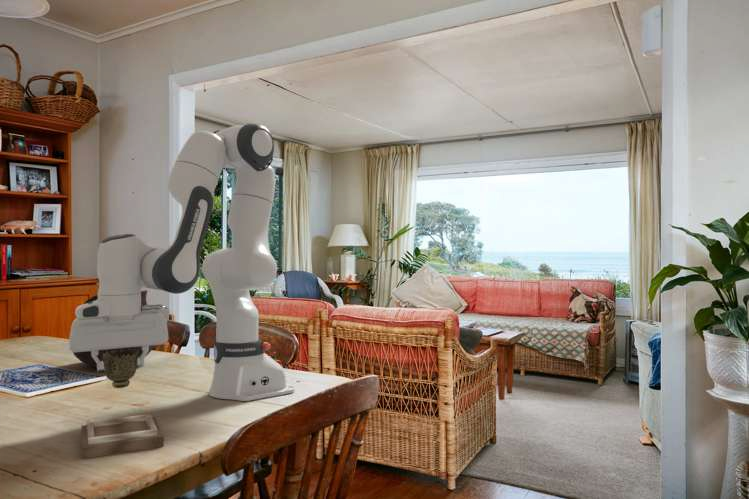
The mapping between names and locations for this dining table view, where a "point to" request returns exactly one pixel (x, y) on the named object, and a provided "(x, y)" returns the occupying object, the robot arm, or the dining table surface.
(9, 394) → the dining table surface
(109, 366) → the cup
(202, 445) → the dining table surface
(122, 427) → the plate
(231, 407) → the dining table surface
